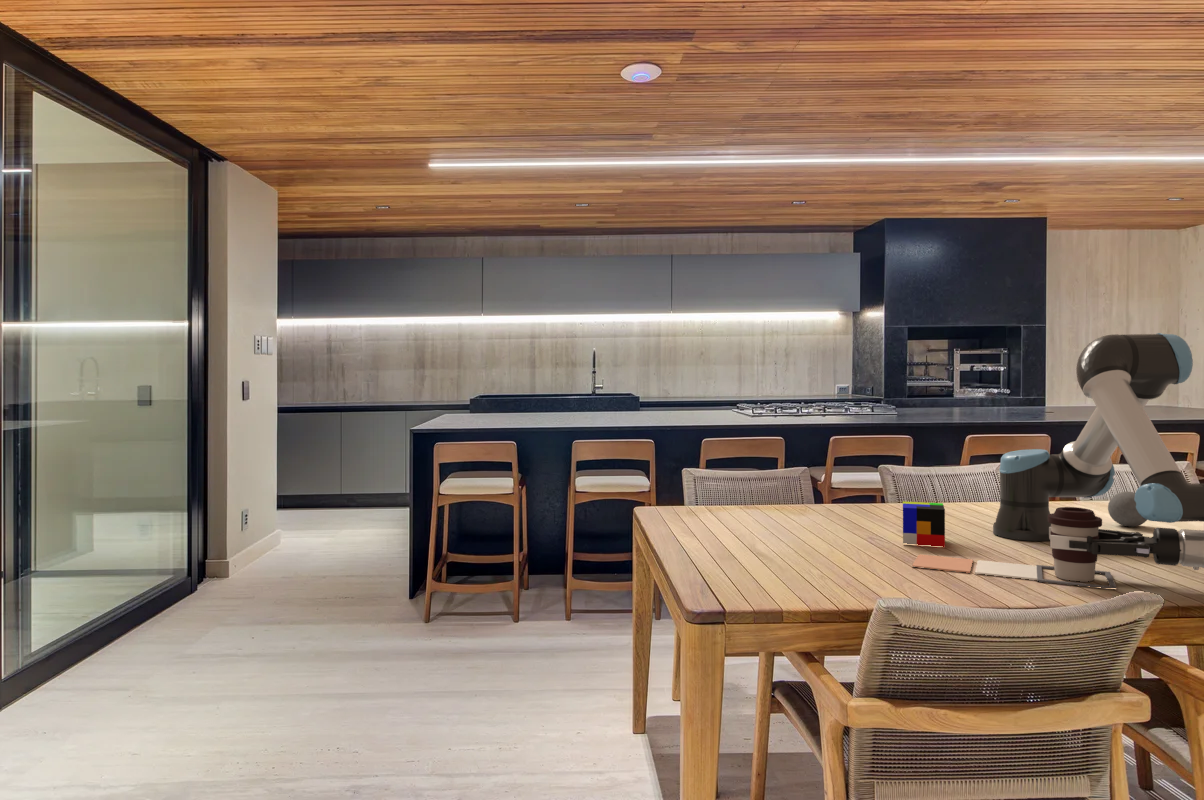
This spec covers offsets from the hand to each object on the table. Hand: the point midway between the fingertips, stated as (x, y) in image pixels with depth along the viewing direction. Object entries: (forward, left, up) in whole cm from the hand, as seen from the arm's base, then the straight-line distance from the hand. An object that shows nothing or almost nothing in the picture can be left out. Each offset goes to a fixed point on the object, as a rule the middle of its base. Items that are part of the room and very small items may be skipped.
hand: (1049, 537), depth 162 cm
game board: (-6, -6, -8) cm, 12 cm away
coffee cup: (+3, +3, -9) cm, 10 cm away
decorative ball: (-34, +64, -9) cm, 73 cm away
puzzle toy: (-36, -4, -9) cm, 37 cm away
